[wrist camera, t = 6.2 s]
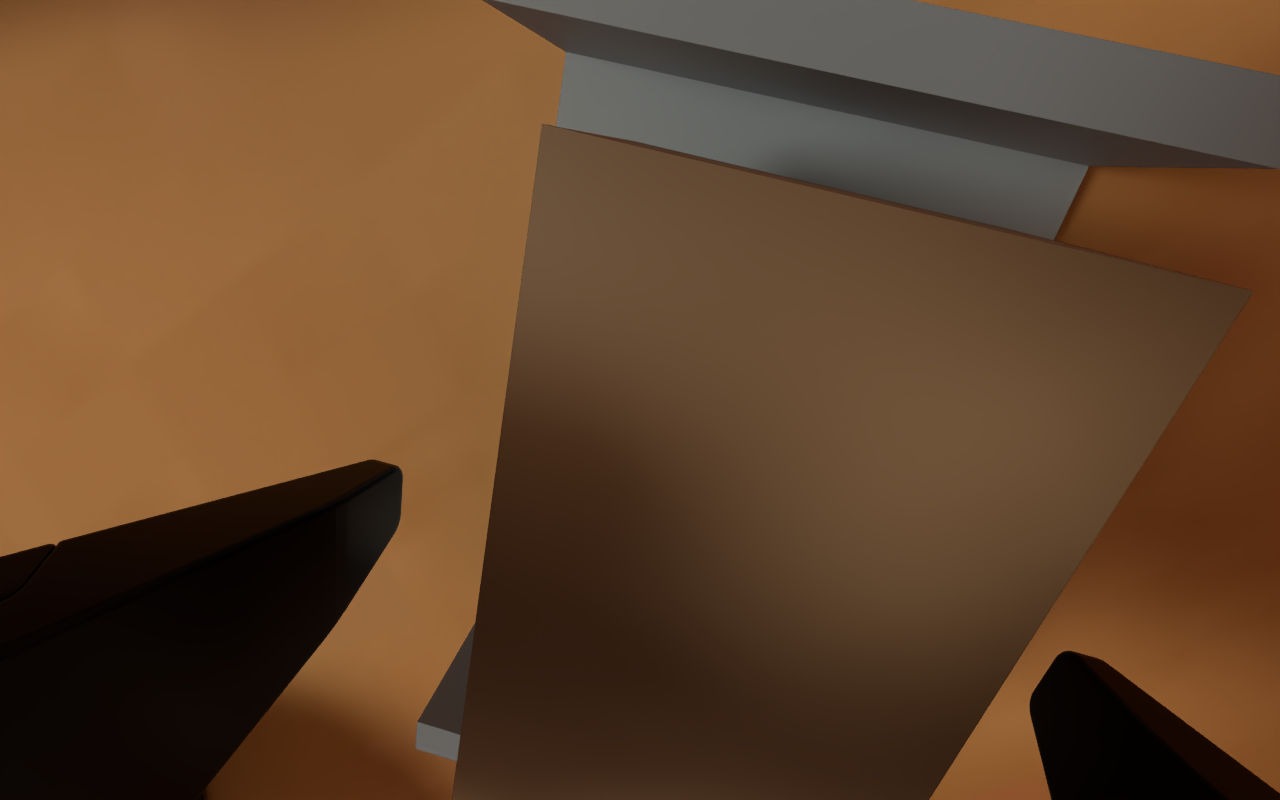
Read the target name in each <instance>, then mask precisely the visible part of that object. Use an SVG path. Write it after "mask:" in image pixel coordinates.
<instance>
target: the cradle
mask: <svg viewBox="0 0 1280 800" xmlns="http://www.w3.org/2000/svg"><path fill="white" fill-rule="evenodd" d="M483 1H485V2H486V3H488V4H490V5H491V6H493V7H494V8H496V9H498V10H499V11H501V12H503V13H504V14H506V15H507V16H509V17H511V18H512V19H514V20H515V21H517V22H519V23H520V24H522V25H524V26H525V27H527V28H528V29H530V30H532V31H533V32H535V33H537V34H538V35H540V36H541V37H543V38H545V39H546V40H548V41H549V42H551V43H553V44H554V45H556V46H558V47H559V48H561V49H562V50H564V51H566V57H565V65H564V72H563V79H562V86H561V94H560V101H559V108H558V116H557V123H556V127H561V128H567V129H572V130H577V131H583V132H588V133H593V134H599V135H604V136H609V137H615V138H620V139H625V140H631V141H636V142H640V143H644V144H649V145H653V146H657V147H661V148H666V149H670V150H674V151H678V152H683V153H687V154H691V155H695V156H700V157H704V158H708V159H713V160H717V161H721V162H725V163H730V164H734V165H738V166H742V167H747V168H751V169H755V170H759V171H764V172H768V173H772V174H776V175H781V176H785V177H789V178H794V179H798V180H802V181H806V182H811V183H815V184H819V185H823V186H828V187H832V188H836V189H840V190H845V191H849V192H853V193H857V194H862V195H866V196H870V197H875V198H879V199H883V200H887V201H892V202H896V203H900V204H904V205H909V206H913V207H917V208H921V209H926V210H930V211H934V212H938V213H943V214H947V215H951V216H956V217H960V218H964V219H968V220H973V221H977V222H981V223H985V224H990V225H994V226H998V227H1002V228H1007V229H1011V230H1015V231H1019V232H1023V233H1027V234H1031V235H1034V236H1038V237H1042V238H1046V239H1050V240H1054V239H1055V237H1056V234H1057V232H1058V230H1059V228H1060V226H1061V224H1062V222H1063V220H1064V218H1065V216H1066V214H1067V211H1068V209H1069V207H1070V205H1071V203H1072V201H1073V199H1074V197H1075V195H1076V193H1077V190H1078V188H1079V186H1080V184H1081V182H1082V180H1083V178H1084V176H1085V174H1086V172H1087V170H1088V167H1089V166H1104V167H1180V168H1257V169H1279V168H1280V76H1279V75H1274V74H1269V73H1265V72H1260V71H1255V70H1250V69H1245V68H1240V67H1235V66H1230V65H1225V64H1220V63H1216V62H1211V61H1206V60H1201V59H1196V58H1191V57H1186V56H1181V55H1176V54H1171V53H1167V52H1162V51H1157V50H1152V49H1147V48H1142V47H1137V46H1132V45H1127V44H1122V43H1118V42H1113V41H1108V40H1103V39H1098V38H1093V37H1088V36H1083V35H1078V34H1073V33H1069V32H1064V31H1059V30H1054V29H1049V28H1044V27H1039V26H1034V25H1029V24H1024V23H1020V22H1015V21H1010V20H1005V19H1000V18H995V17H990V16H985V15H980V14H975V13H971V12H966V11H961V10H956V9H951V8H946V7H941V6H936V5H931V4H927V3H922V2H917V1H912V0H483ZM474 630H475V624H474V626H473V627H472V629H471V631H470V633H469V634H468V636H467V638H466V639H465V641H464V643H463V645H462V646H461V648H460V650H459V651H458V653H457V655H456V657H455V658H454V660H453V662H452V663H451V665H450V667H449V669H448V670H447V672H446V674H445V675H444V677H443V679H442V681H441V682H440V684H439V686H438V687H437V689H436V691H435V693H434V694H433V696H432V698H431V699H430V701H429V703H428V705H427V706H426V708H425V710H424V711H423V713H422V715H421V717H420V718H419V720H418V722H417V733H416V745H415V749H418V750H421V751H425V752H428V753H431V754H434V755H438V756H441V757H444V758H447V759H450V760H454V761H457V757H458V749H459V742H460V734H461V727H462V719H463V712H464V704H465V697H466V689H467V682H468V674H469V667H470V660H471V652H472V645H473V637H474Z"/></svg>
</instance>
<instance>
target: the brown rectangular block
mask: <svg viewBox="0 0 1280 800" xmlns="http://www.w3.org/2000/svg"><path fill="white" fill-rule="evenodd" d="M1252 293H1253V291H1251V290H1247V289H1243V288H1239V287H1235V286H1231V285H1227V284H1223V283H1220V282H1216V281H1212V280H1208V279H1204V278H1200V277H1196V276H1192V275H1188V274H1184V273H1180V272H1176V271H1172V270H1168V269H1164V268H1160V267H1157V266H1153V265H1149V264H1145V263H1141V262H1137V261H1133V260H1129V259H1125V258H1121V257H1117V256H1113V255H1109V254H1105V253H1101V252H1097V251H1094V250H1090V249H1086V248H1082V247H1078V246H1074V245H1070V244H1066V243H1062V242H1058V241H1054V240H1050V239H1046V238H1042V237H1038V236H1034V235H1031V234H1027V233H1023V232H1019V231H1015V230H1011V229H1007V228H1002V227H998V226H994V225H990V224H985V223H981V222H977V221H973V220H968V219H964V218H960V217H956V216H951V215H947V214H943V213H938V212H934V211H930V210H926V209H921V208H917V207H913V206H909V205H904V204H900V203H896V202H892V201H887V200H883V199H879V198H875V197H870V196H866V195H862V194H857V193H853V192H849V191H845V190H840V189H836V188H832V187H828V186H823V185H819V184H815V183H811V182H806V181H802V180H798V179H794V178H789V177H785V176H781V175H776V174H772V173H768V172H764V171H759V170H755V169H751V168H747V167H742V166H738V165H734V164H730V163H725V162H721V161H717V160H713V159H708V158H704V157H700V156H695V155H691V154H687V153H683V152H678V151H674V150H670V149H666V148H661V147H657V146H653V145H649V144H644V143H640V142H636V141H631V140H625V139H620V138H615V137H609V136H604V135H599V134H593V133H588V132H583V131H577V130H572V129H567V128H561V127H556V126H551V125H545V124H542V130H541V137H540V144H539V152H538V159H537V167H536V174H535V182H534V189H533V197H532V204H531V212H530V219H529V227H528V234H527V241H526V249H525V256H524V264H523V271H522V279H521V286H520V294H519V301H518V309H517V316H516V324H515V331H514V339H513V346H512V353H511V361H510V368H509V376H508V383H507V391H506V398H505V406H504V413H503V421H502V428H501V436H500V443H499V451H498V458H497V465H496V473H495V480H494V488H493V495H492V503H491V510H490V518H489V525H488V533H487V540H486V548H485V555H484V562H483V570H482V577H481V585H480V592H479V600H478V607H477V615H476V622H475V630H474V637H473V645H472V652H471V660H470V667H469V674H468V682H467V689H466V697H465V704H464V712H463V719H462V727H461V734H460V742H459V749H458V757H457V764H456V772H455V779H454V786H453V794H452V800H929V799H930V797H931V796H932V794H933V793H934V791H935V790H936V788H937V786H938V785H939V783H940V782H941V780H942V779H943V777H944V776H945V774H946V772H947V771H948V769H949V768H950V766H951V765H952V763H953V761H954V760H955V758H956V757H957V755H958V754H959V752H960V750H961V749H962V747H963V746H964V744H965V743H966V741H967V739H968V738H969V736H970V735H971V733H972V732H973V730H974V728H975V727H976V725H977V724H978V722H979V721H980V719H981V718H982V716H983V714H984V713H985V711H986V710H987V708H988V707H989V705H990V703H991V702H992V700H993V699H994V697H995V696H996V694H997V692H998V691H999V689H1000V688H1001V686H1002V685H1003V683H1004V681H1005V680H1006V678H1007V677H1008V675H1009V674H1010V672H1011V670H1012V669H1013V667H1014V666H1015V664H1016V663H1017V661H1018V660H1019V658H1020V656H1021V655H1022V653H1023V652H1024V650H1025V649H1026V647H1027V645H1028V644H1029V642H1030V641H1031V639H1032V638H1033V636H1034V634H1035V633H1036V631H1037V630H1038V628H1039V627H1040V625H1041V623H1042V622H1043V620H1044V619H1045V617H1046V616H1047V614H1048V612H1049V611H1050V609H1051V608H1052V606H1053V605H1054V603H1055V602H1056V600H1057V598H1058V597H1059V595H1060V594H1061V592H1062V591H1063V589H1064V587H1065V586H1066V584H1067V583H1068V581H1069V580H1070V578H1071V576H1072V575H1073V573H1074V572H1075V570H1076V569H1077V567H1078V565H1079V564H1080V562H1081V561H1082V559H1083V558H1084V556H1085V554H1086V553H1087V551H1088V550H1089V548H1090V547H1091V545H1092V543H1093V542H1094V540H1095V539H1096V537H1097V536H1098V534H1099V533H1100V531H1101V529H1102V528H1103V526H1104V525H1105V523H1106V522H1107V520H1108V518H1109V517H1110V515H1111V514H1112V512H1113V511H1114V509H1115V507H1116V506H1117V504H1118V503H1119V501H1120V500H1121V498H1122V496H1123V495H1124V493H1125V492H1126V490H1127V489H1128V487H1129V485H1130V484H1131V482H1132V481H1133V479H1134V478H1135V476H1136V475H1137V473H1138V471H1139V470H1140V468H1141V467H1142V465H1143V464H1144V462H1145V460H1146V459H1147V457H1148V456H1149V454H1150V453H1151V451H1152V449H1153V448H1154V446H1155V445H1156V443H1157V442H1158V440H1159V438H1160V437H1161V435H1162V434H1163V432H1164V431H1165V429H1166V427H1167V426H1168V424H1169V423H1170V421H1171V420H1172V418H1173V417H1174V415H1175V413H1176V412H1177V410H1178V409H1179V407H1180V406H1181V404H1182V402H1183V401H1184V399H1185V398H1186V396H1187V395H1188V393H1189V391H1190V390H1191V388H1192V387H1193V385H1194V384H1195V382H1196V380H1197V379H1198V377H1199V376H1200V374H1201V373H1202V371H1203V369H1204V368H1205V366H1206V365H1207V363H1208V362H1209V360H1210V358H1211V357H1212V355H1213V354H1214V352H1215V351H1216V349H1217V348H1218V346H1219V344H1220V343H1221V341H1222V340H1223V338H1224V337H1225V335H1226V333H1227V332H1228V330H1229V329H1230V327H1231V326H1232V324H1233V322H1234V321H1235V319H1236V318H1237V316H1238V315H1239V313H1240V311H1241V310H1242V308H1243V307H1244V305H1245V304H1246V302H1247V300H1248V299H1249V297H1250V296H1251V294H1252Z"/></svg>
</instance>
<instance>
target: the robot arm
mask: <svg viewBox="0 0 1280 800" xmlns="http://www.w3.org/2000/svg"><path fill="white" fill-rule="evenodd" d="M402 482H403V475H402V471H401V469H400V468H399V467H398V466H396V465H392V464H389V463H385V462H381V461H378V460H367V461H363V462H359V463H355V464H352V465H348V466H344V467H340V468H336V469H333V470H329V471H325V472H321V473H317V474H314V475H310V476H306V477H302V478H298V479H295V480H291V481H287V482H283V483H279V484H276V485H272V486H268V487H264V488H260V489H257V490H253V491H249V492H245V493H241V494H238V495H234V496H230V497H226V498H222V499H219V500H215V501H211V502H207V503H203V504H200V505H196V506H192V507H188V508H184V509H181V510H177V511H173V512H169V513H165V514H162V515H158V516H154V517H150V518H146V519H143V520H139V521H135V522H131V523H127V524H124V525H120V526H116V527H112V528H108V529H105V530H101V531H97V532H93V533H89V534H86V535H82V536H78V537H74V538H70V539H67V540H63V541H61V542H59V543H58V544H57V546H55V545H54V544H47V545H43V546H39V547H36V548H32V549H28V550H24V551H21V552H17V553H13V554H9V555H6V556H2V557H0V800H203V793H202V792H203V791H204V789H205V788H206V787H207V786H208V784H209V783H210V782H211V781H212V779H213V778H214V777H215V776H216V774H217V773H218V772H219V771H220V769H221V768H222V767H223V766H224V764H225V763H226V762H227V761H228V759H229V758H230V757H231V756H232V754H233V753H234V752H235V751H236V749H237V748H238V747H239V746H240V744H241V743H242V742H243V741H244V739H245V738H246V737H247V736H248V734H249V733H250V732H251V731H252V729H253V728H254V727H255V726H256V724H257V723H258V722H259V721H260V719H261V718H262V717H263V716H264V714H265V713H266V712H267V711H268V709H269V708H270V707H271V706H272V704H273V703H274V702H275V701H276V699H277V698H278V697H279V696H280V694H281V693H282V692H283V691H284V689H285V688H286V687H287V686H288V684H289V683H290V682H291V681H292V679H293V678H294V677H295V676H296V674H297V673H298V672H299V671H300V669H301V668H302V667H303V666H304V664H305V663H306V662H307V661H308V659H309V658H310V657H311V656H312V654H313V653H314V652H315V651H316V649H317V648H318V647H319V646H320V644H321V643H322V642H323V641H324V639H325V638H326V637H327V635H328V634H329V633H330V631H331V630H332V629H333V627H334V626H335V625H336V623H337V622H338V620H339V619H340V617H341V616H342V614H343V613H344V612H345V610H346V609H347V607H348V605H349V604H350V602H351V601H352V599H353V598H354V596H355V594H356V593H357V591H358V590H359V588H360V587H361V585H362V584H363V582H364V580H365V579H366V577H367V576H368V574H369V573H370V571H371V569H372V568H373V566H374V565H375V563H376V562H377V560H378V558H379V557H380V555H381V554H382V552H383V551H384V549H385V548H386V546H387V544H388V543H389V541H390V540H391V538H392V537H393V535H394V533H395V532H396V529H397V527H398V524H399V521H400V516H401V500H402ZM1030 715H1031V719H1032V723H1033V727H1034V731H1035V735H1036V739H1037V743H1038V747H1039V751H1040V755H1041V759H1042V763H1043V767H1044V771H1045V775H1046V780H1047V784H1048V788H1049V792H1050V796H1051V800H1280V793H1278V792H1277V791H1276V790H1274V789H1273V788H1272V787H1270V786H1269V785H1268V784H1267V783H1265V782H1264V781H1263V780H1261V779H1260V778H1259V777H1257V776H1256V775H1255V774H1253V773H1252V772H1251V771H1249V770H1248V769H1247V768H1245V767H1244V766H1243V765H1241V764H1240V763H1239V762H1237V761H1236V760H1235V759H1233V758H1232V757H1231V756H1229V755H1228V754H1227V753H1225V752H1224V751H1223V750H1221V749H1220V748H1219V747H1217V746H1216V745H1215V744H1213V743H1212V742H1211V741H1209V740H1208V739H1207V738H1205V737H1204V736H1203V735H1201V734H1200V733H1199V732H1197V731H1196V730H1195V729H1194V728H1192V727H1191V726H1190V725H1188V724H1187V723H1186V722H1184V721H1183V720H1182V719H1180V718H1179V717H1178V716H1176V715H1175V714H1174V713H1172V712H1171V711H1170V710H1168V709H1167V708H1166V707H1164V706H1163V705H1162V704H1160V703H1159V702H1158V701H1156V700H1155V699H1154V698H1152V697H1151V696H1150V695H1148V694H1147V693H1146V692H1144V691H1143V690H1142V689H1140V688H1139V687H1138V686H1136V685H1135V684H1134V683H1132V682H1131V681H1130V680H1128V679H1127V678H1126V677H1124V676H1123V675H1122V674H1121V673H1119V672H1118V671H1117V670H1115V669H1114V668H1113V667H1111V666H1110V665H1109V664H1107V663H1106V662H1104V661H1103V660H1100V659H1098V658H1095V657H1091V656H1088V655H1084V654H1080V653H1077V652H1073V651H1064V652H1062V653H1060V654H1059V655H1058V656H1057V657H1056V658H1055V660H1054V661H1053V663H1052V664H1051V666H1050V667H1049V669H1048V670H1047V672H1046V673H1045V675H1044V676H1043V678H1042V679H1041V681H1040V682H1039V684H1038V685H1037V687H1036V688H1035V690H1034V691H1033V693H1032V696H1031V699H1030Z"/></svg>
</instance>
